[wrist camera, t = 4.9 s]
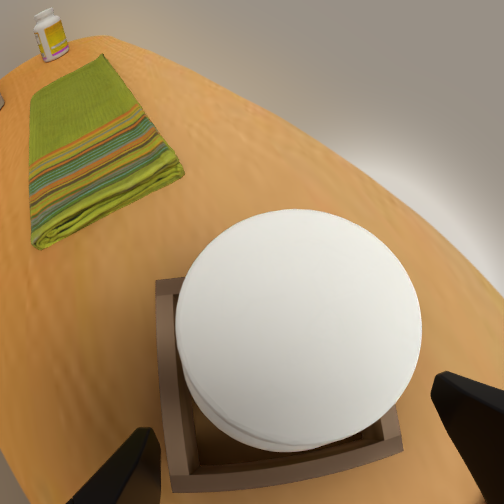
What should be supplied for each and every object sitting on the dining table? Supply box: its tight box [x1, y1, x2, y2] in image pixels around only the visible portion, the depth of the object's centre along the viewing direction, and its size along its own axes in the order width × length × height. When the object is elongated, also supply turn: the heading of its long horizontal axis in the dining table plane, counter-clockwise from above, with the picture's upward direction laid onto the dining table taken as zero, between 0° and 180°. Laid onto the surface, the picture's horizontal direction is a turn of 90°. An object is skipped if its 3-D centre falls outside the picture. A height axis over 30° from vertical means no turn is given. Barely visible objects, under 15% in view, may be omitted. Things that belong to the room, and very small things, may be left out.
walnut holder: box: [156, 277, 404, 493], centre depth 16 cm, size 12×12×4 cm
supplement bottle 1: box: [34, 7, 69, 62], centre depth 43 cm, size 7×7×13 cm
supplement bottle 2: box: [175, 209, 422, 452], centre depth 12 cm, size 7×7×13 cm
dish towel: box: [29, 54, 185, 250], centre depth 31 cm, size 15×36×3 cm, turn 32°
